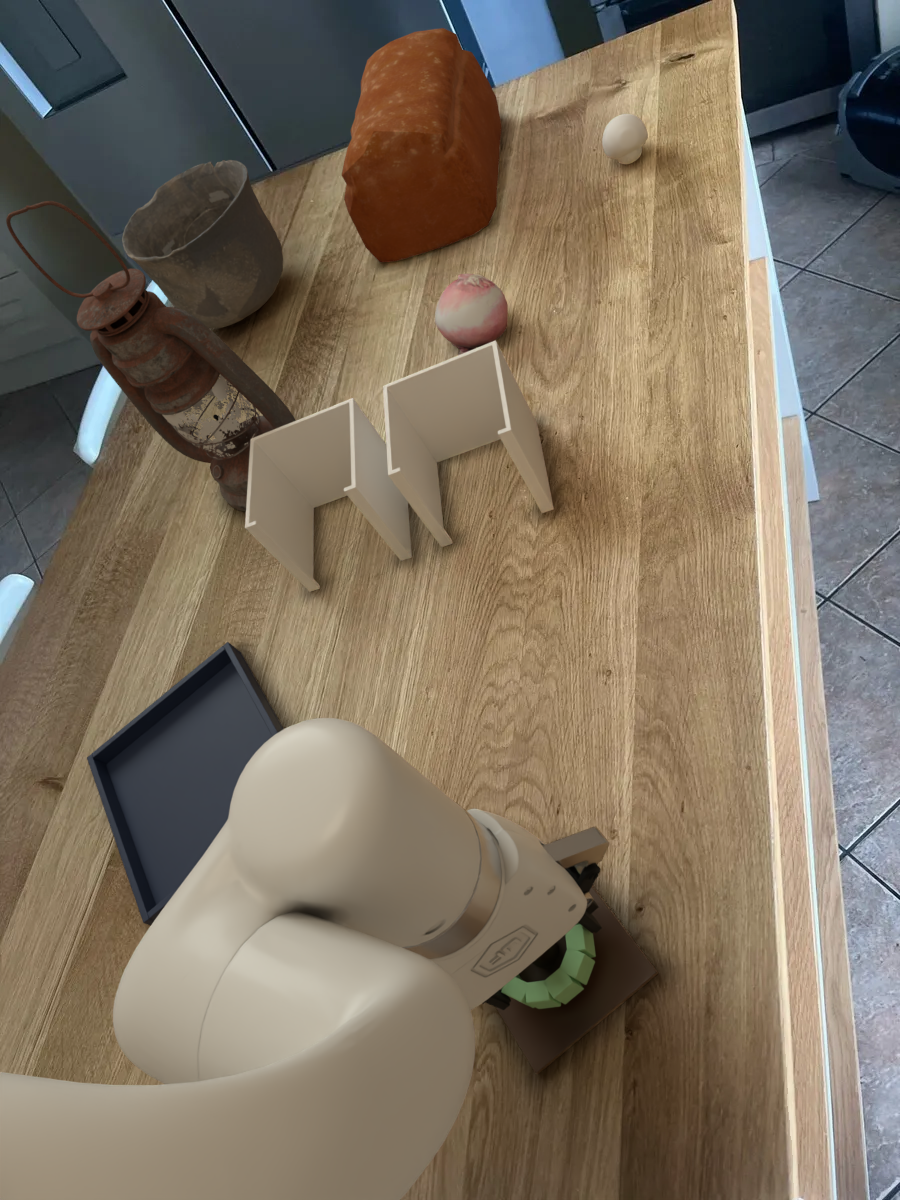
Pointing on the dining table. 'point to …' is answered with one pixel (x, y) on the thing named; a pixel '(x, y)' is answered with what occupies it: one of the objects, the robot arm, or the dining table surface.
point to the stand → (605, 991)
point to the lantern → (175, 371)
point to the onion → (471, 312)
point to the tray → (180, 773)
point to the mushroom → (624, 138)
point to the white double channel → (389, 456)
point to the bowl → (208, 244)
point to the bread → (422, 147)
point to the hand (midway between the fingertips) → (539, 948)
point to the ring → (559, 974)
